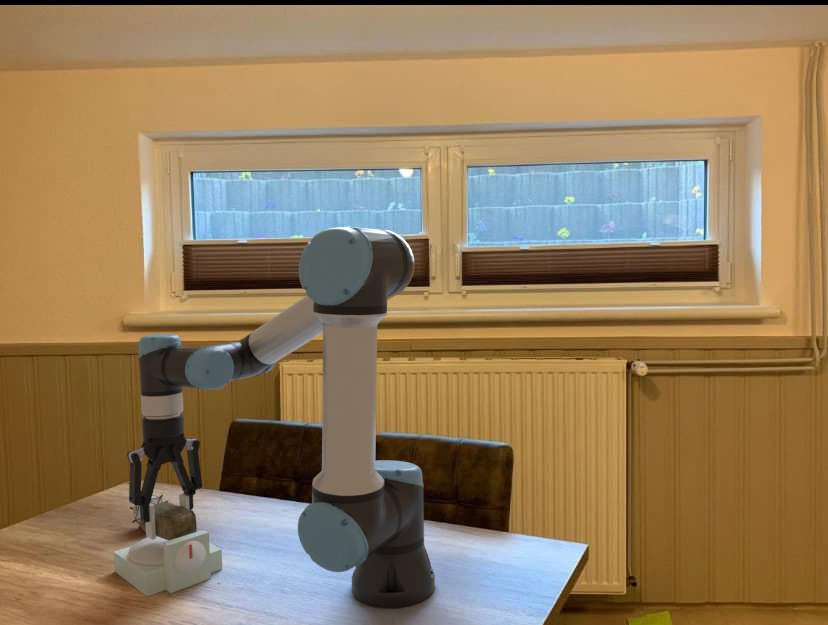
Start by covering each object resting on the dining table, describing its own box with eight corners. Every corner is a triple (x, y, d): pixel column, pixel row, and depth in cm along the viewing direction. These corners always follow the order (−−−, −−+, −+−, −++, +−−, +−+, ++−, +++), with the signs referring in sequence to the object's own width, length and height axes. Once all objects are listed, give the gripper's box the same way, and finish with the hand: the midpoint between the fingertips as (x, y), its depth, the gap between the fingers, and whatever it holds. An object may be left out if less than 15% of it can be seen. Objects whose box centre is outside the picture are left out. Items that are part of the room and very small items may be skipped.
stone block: (173, 545, 126) (172, 519, 126) (138, 532, 133) (136, 507, 132) (199, 534, 131) (198, 509, 130) (164, 522, 137) (162, 498, 137)
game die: (161, 542, 156) (186, 508, 155) (130, 542, 149) (155, 506, 148) (146, 515, 161) (169, 482, 160) (115, 514, 154) (139, 479, 153)
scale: (229, 573, 131) (227, 527, 130) (153, 601, 120) (150, 552, 120) (186, 547, 143) (184, 506, 143) (114, 571, 133) (112, 526, 132)
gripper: (200, 404, 139) (205, 513, 141) (103, 420, 126) (110, 541, 128) (218, 409, 134) (223, 522, 136) (119, 427, 121) (126, 553, 122)
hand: (168, 531), depth 132 cm, fingers closed on stone block, 6 cm apart
